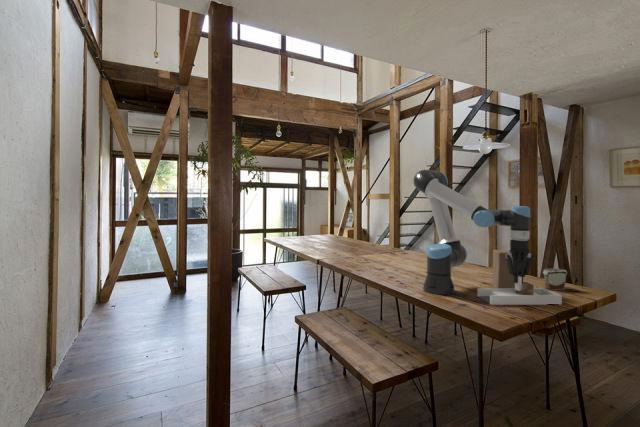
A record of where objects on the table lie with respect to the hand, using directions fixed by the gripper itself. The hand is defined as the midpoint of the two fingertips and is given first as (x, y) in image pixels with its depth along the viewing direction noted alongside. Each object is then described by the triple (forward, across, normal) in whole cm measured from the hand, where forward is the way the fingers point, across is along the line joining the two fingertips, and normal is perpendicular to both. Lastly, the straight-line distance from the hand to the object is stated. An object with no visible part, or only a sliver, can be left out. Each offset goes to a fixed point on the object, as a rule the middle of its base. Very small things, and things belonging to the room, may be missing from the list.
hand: (518, 289), depth 148 cm
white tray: (+5, 0, 0) cm, 5 cm away
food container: (+5, +31, +20) cm, 38 cm away
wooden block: (+5, +5, +18) cm, 20 cm away
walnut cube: (+2, +3, 0) cm, 4 cm away
